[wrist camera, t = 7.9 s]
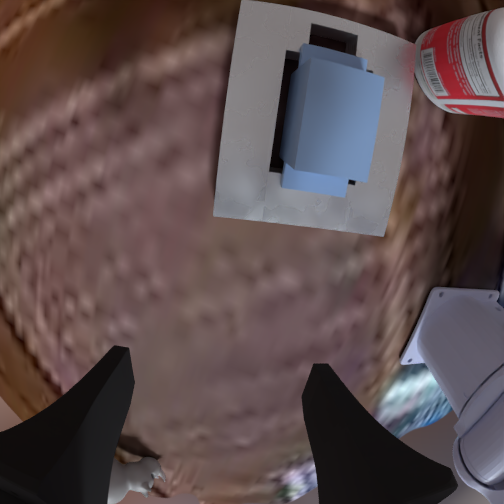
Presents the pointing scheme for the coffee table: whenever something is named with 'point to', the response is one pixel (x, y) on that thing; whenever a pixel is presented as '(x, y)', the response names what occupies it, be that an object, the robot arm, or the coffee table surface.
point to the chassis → (265, 113)
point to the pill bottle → (464, 64)
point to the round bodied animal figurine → (133, 478)
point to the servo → (329, 122)
